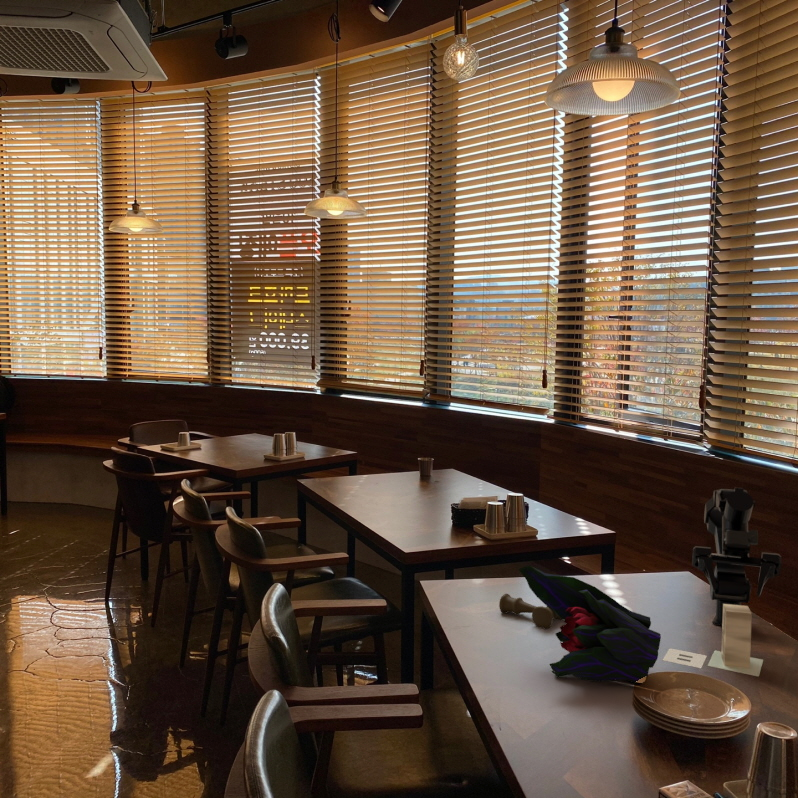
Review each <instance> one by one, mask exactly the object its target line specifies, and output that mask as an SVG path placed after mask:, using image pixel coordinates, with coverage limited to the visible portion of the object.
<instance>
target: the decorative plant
mask: <svg viewBox="0 0 798 798" xmlns="http://www.w3.org/2000/svg"><path fill="white" fill-rule="evenodd" d="M518 571H519V572H520V573H521V575H522V576H523V578H525V580H526V583H527V585H528V587H529V589H530V590H531V591H532V593H533V594H534V595H535V596H536V598H537V599H539V600H540V601H541V602H542V603H543V604H544V605H545V607H549V608H550V609H551V610H552V611H553V612H554V613H555V614H556V615H557V616H559V617H560V618H562V619H563V622H564V623H565V624H563V625H561V626H559V629H560V631H558V632H555V636H556V638H557V639H558V640H559V642H560V643H559V644H560V646H561V648H562V649H564V650H566V651H567V652H568V653H566V654H565V655H563V657H562V658H561V659H560V660H557V661H556V662H552V663H549V666H550V668H551V669H552V670H551V672H552V674H553V675H555V676H556V677H557V678H561V677H564V676H565V677H566V676H571V675H572V676H574V677H575V678H577V679H579V680H582V681H590V682H591V681H592V682H609V681H610V682H614V681H616V682H617V681H628V682H630V683H634V684H636V683H635V682H636V681H638V680H639V679H641V678H643V677H645V676H647V677H648V676H649V672H650V669H651V668H652V669H653V668H654V666H655V664H656V663H657V660H658V658H659V650H660V644H661V638H662V636H661V633H660V632H657V631H655V630H652V629H650V627H651V625H652V621H651V617H650V616H647V615H643V614H640V613H637V612H634V611H631V610H630V609H628V608H627V607H625V606H624V605H622V604H620V603H619V602H617V601H616V599H613V598H612V597H611V596H610V595H608V594H606V593H605V592H603V591H602V590H600V589H599V588H597V587H595V586H594V585H592V584H590V583H588V582H585V581H583V580H581V579H579V578H576V577H575V576H565V575H559V574H551V573H546V572H544V571H542V570H540V569H538V568H536V567H534V566H531V565H526V566H524V567H520V568H519V569H518Z"/></svg>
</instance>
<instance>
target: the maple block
mask: <svg viewBox="0 0 798 798" xmlns="http://www.w3.org/2000/svg"><path fill="white" fill-rule="evenodd" d="M752 615H753V612H752V611H751V609H750V608H749V605H742V604H741V605H731V604H723V621H722V625H721V626H722V628H721V630H722V631H721V657H722V660H723V663H724V666H732V667H741V668H750V657H751V646H752V644H751V643H752V640H751V639H752V619H753V618H752Z"/></svg>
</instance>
